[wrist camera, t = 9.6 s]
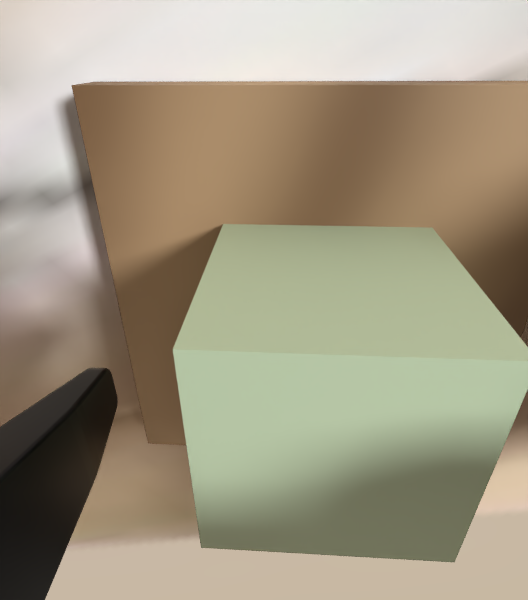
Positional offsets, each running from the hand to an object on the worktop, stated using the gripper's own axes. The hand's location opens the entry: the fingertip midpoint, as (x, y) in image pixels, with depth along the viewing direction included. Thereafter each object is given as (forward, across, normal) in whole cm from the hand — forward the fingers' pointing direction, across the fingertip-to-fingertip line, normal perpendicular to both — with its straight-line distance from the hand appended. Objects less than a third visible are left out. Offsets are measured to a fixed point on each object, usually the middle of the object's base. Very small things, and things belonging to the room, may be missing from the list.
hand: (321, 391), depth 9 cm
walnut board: (+4, 0, 0) cm, 4 cm away
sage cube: (+3, 0, 0) cm, 3 cm away
